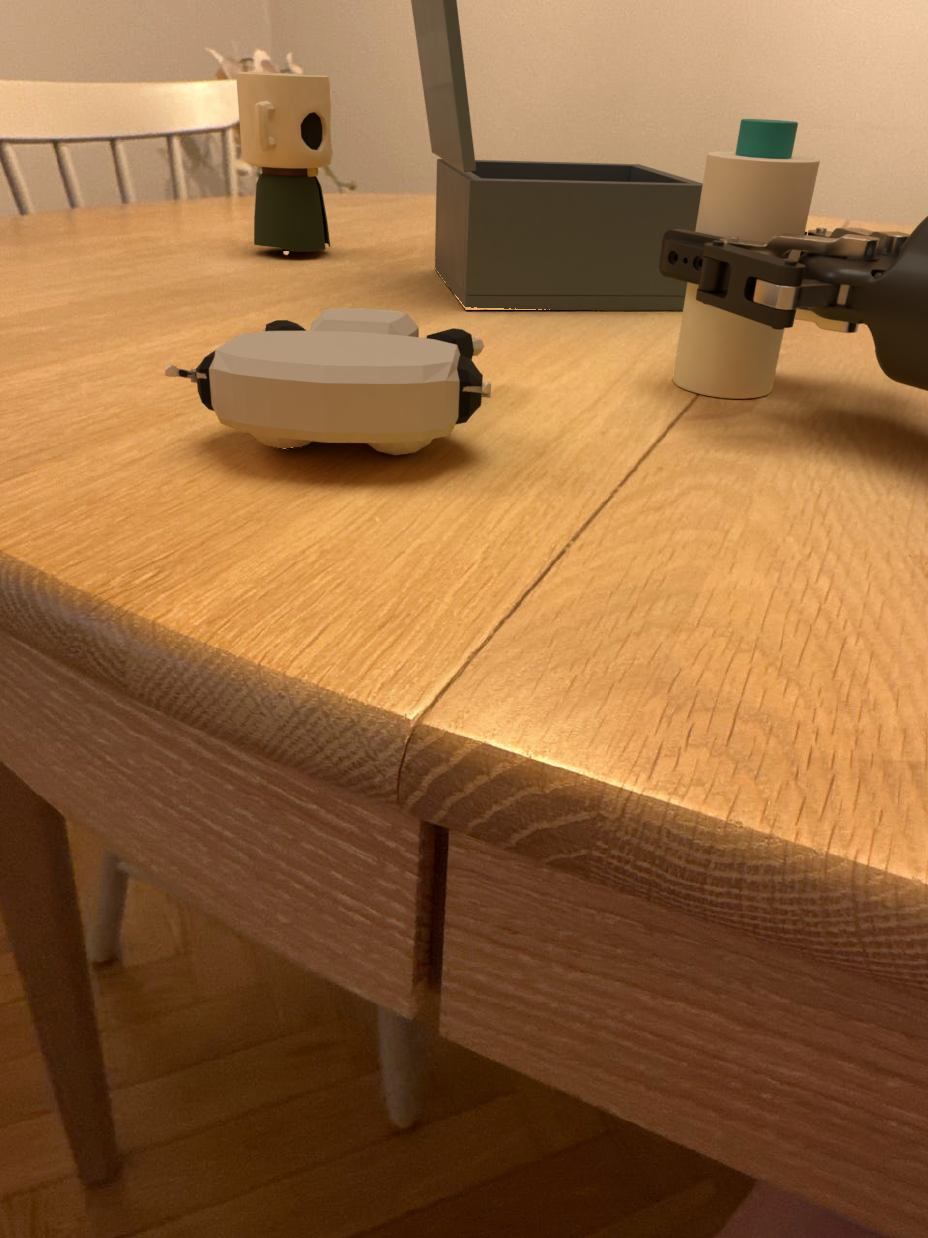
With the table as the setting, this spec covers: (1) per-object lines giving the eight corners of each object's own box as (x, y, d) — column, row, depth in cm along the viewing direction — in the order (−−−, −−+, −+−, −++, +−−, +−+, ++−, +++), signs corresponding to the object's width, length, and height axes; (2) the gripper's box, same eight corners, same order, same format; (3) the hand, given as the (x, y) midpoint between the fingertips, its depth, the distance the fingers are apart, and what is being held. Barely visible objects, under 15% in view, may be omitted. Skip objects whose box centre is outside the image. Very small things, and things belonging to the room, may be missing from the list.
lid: (404, -132, 61) (392, -131, 61) (436, -177, 50) (421, -175, 49) (442, 150, 70) (431, 152, 70) (476, 170, 58) (464, 172, 58)
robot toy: (258, 385, 49) (166, 472, 36) (253, 295, 47) (154, 351, 34) (490, 397, 49) (485, 488, 36) (495, 307, 47) (491, 368, 34)
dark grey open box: (626, 271, 77) (639, 163, 73) (690, 310, 65) (710, 185, 61) (434, 270, 75) (436, 158, 70) (465, 310, 63) (469, 179, 59)
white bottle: (746, 369, 53) (794, 119, 47) (788, 398, 48) (849, 125, 42) (658, 370, 52) (696, 115, 46) (694, 399, 48) (741, 121, 41)
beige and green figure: (311, 267, 73) (302, 75, 67) (225, 260, 75) (209, 71, 68) (352, 245, 83) (349, 75, 76) (276, 239, 84) (266, 71, 77)
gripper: (1146, 205, 39) (804, 164, 51) (968, 224, 31) (613, 171, 43) (1079, 383, 43) (775, 307, 54) (905, 438, 35) (595, 336, 47)
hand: (705, 247), depth 49 cm, fingers closed on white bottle, 5 cm apart
